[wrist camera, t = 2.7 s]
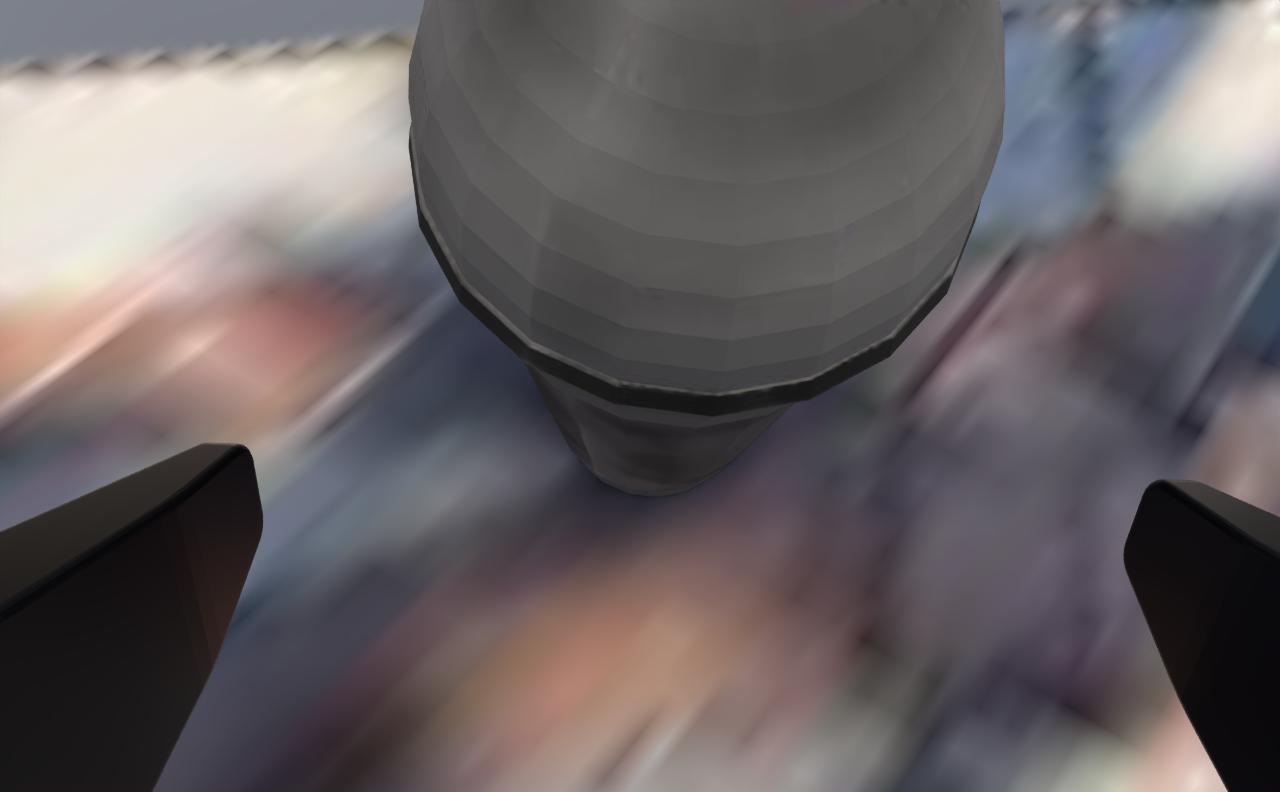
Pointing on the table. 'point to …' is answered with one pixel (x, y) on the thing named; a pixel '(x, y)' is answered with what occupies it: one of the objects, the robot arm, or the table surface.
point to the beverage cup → (699, 200)
